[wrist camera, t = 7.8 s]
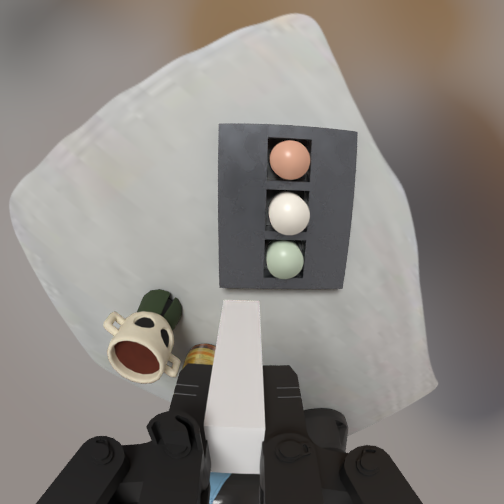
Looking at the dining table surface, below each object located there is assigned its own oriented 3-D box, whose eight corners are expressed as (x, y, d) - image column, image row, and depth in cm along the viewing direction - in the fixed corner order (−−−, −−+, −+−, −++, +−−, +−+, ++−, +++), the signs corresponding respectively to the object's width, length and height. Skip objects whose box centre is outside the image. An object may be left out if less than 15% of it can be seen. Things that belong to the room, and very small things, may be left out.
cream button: (303, 227, 36) (308, 235, 33) (267, 226, 36) (268, 234, 33) (305, 192, 34) (311, 196, 31) (268, 190, 34) (270, 195, 31)
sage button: (297, 268, 39) (301, 279, 36) (265, 267, 39) (266, 278, 36) (300, 236, 38) (304, 245, 35) (266, 235, 38) (267, 244, 34)
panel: (336, 279, 40) (342, 288, 38) (221, 277, 40) (219, 287, 37) (349, 132, 34) (357, 131, 31) (221, 125, 34) (218, 123, 31)
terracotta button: (303, 177, 35) (309, 180, 32) (268, 176, 35) (269, 178, 32) (305, 142, 34) (310, 141, 30) (269, 140, 34) (271, 139, 30)
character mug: (205, 313, 42) (190, 374, 30) (178, 341, 44) (158, 400, 32) (146, 266, 40) (108, 314, 28) (122, 298, 42) (85, 349, 29)
